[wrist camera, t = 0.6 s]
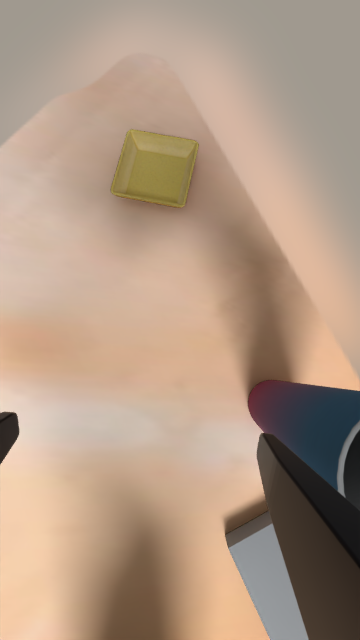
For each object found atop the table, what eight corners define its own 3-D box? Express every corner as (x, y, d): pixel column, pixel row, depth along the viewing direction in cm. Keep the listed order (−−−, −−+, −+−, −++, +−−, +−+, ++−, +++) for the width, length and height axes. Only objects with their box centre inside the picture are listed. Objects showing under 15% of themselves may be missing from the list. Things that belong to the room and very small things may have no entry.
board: (489, 673, 20) (513, 699, 19) (335, 774, 19) (348, 809, 18) (365, 456, 23) (378, 463, 21) (225, 535, 22) (228, 548, 20)
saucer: (114, 204, 28) (108, 192, 26) (131, 143, 29) (127, 127, 27) (184, 218, 27) (184, 207, 25) (198, 156, 29) (200, 140, 26)
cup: (292, 363, 24) (465, 379, 10) (314, 428, 23) (547, 559, 9) (231, 381, 24) (312, 425, 9) (251, 447, 23) (377, 616, 8)
